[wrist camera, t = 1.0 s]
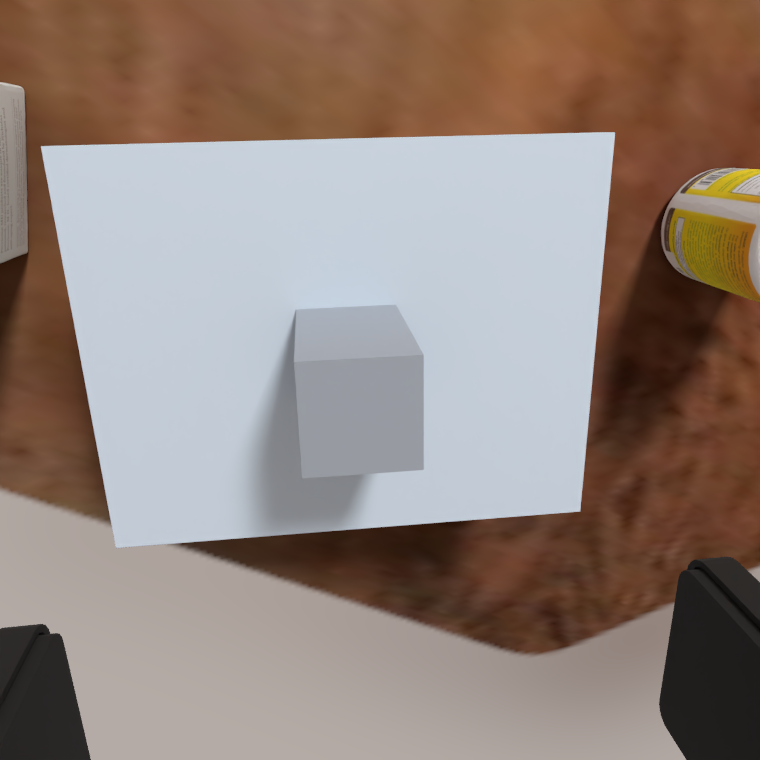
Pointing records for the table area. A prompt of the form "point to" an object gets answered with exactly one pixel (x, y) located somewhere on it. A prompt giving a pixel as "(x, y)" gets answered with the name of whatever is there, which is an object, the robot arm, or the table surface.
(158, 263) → the lid
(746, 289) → the supplement bottle
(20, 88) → the supplement box
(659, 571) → the table surface
